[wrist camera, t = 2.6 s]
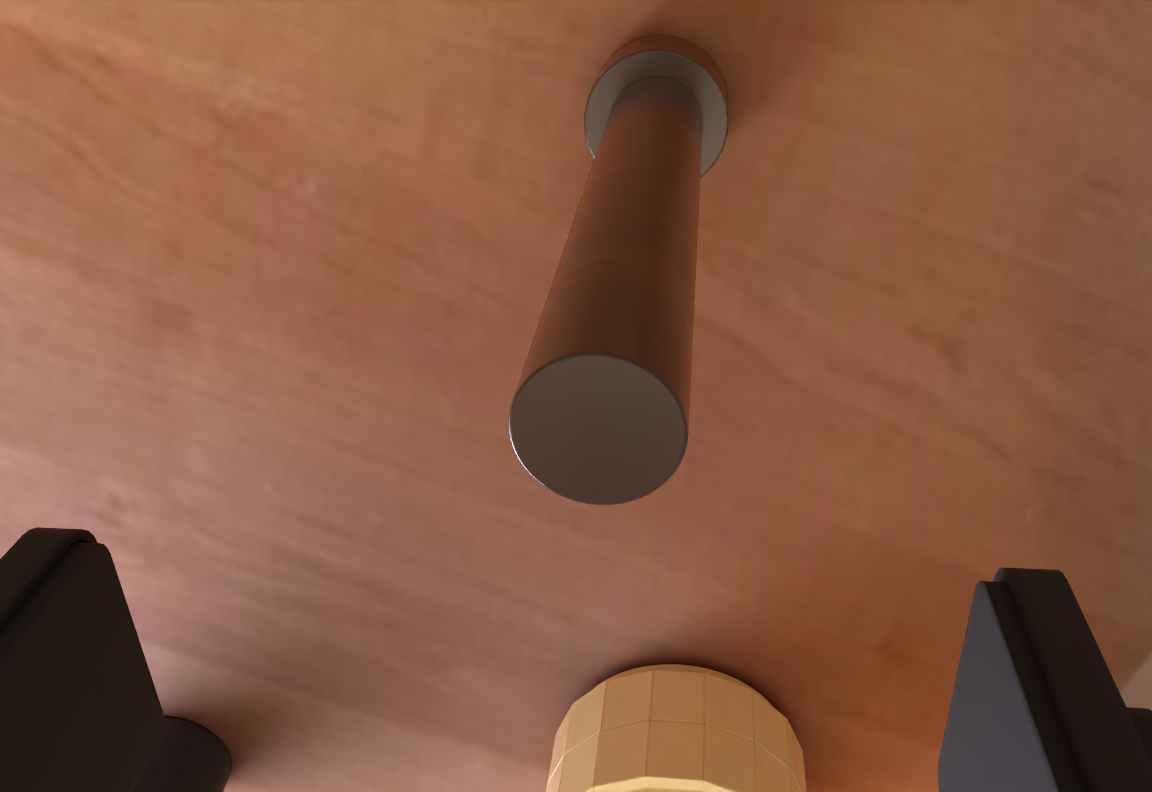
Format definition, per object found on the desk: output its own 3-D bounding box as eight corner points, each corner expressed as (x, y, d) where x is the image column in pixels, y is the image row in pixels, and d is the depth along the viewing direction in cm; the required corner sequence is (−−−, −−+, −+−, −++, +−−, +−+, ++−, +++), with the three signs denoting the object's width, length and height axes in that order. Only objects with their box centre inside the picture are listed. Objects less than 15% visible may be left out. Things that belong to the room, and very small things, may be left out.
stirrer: (731, 34, 29) (744, 310, 13) (724, 172, 31) (732, 550, 15) (589, 35, 29) (448, 304, 14) (593, 171, 31) (472, 537, 16)
